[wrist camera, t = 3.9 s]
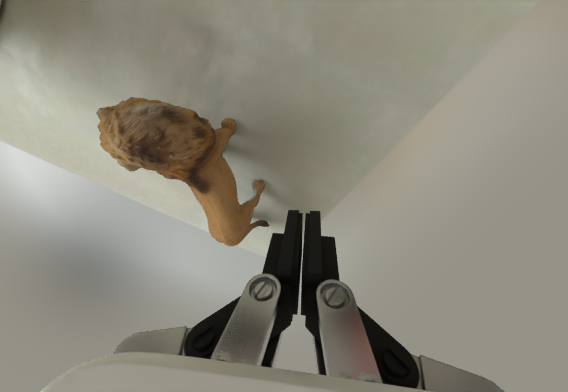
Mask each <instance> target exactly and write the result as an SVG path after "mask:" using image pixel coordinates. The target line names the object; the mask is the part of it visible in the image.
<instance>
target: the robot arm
mask: <svg viewBox="0 0 568 392" xmlns="http://www.w3.org/2000/svg"><path fill="white" fill-rule="evenodd" d="M0 6H1V0H0ZM302 219H303V213H299V210H289V211H288V216H287V221H286V226H285V232H284V234H279V233H273V234H272V238H271V241H270V245H269V249H268V253H267V257H266V261H265V265H264V269H263V272H262V274H259V275H257V276H254V277H253V278H252V279H251V280H250V281H249V282H248V283H247V285H246V287H245V289H244V291H243V293H242V295H241V296H240V297H238V298H237V299H235V300H234V301H232V302H231V303H229V304H228V305H226V306H225V307H223V308H221V309H220V310H218V311H217V312H215V313H214V314H212V315H211V316H209V317H207V318H206V319H204V320H203V321H201V322H200V323H198V324H197V325H196V326H194V327H193V328H187V327H186V326H184V327H176V328H169V329H161V330H153V331H146V332H139V333H136V334H132V335H131V336H129V337H128V338H126V339H125V340H124V341H123V342H122V343H121V344H120V345H119V346H118V348H117V349H116V350H115V352H114V353H113V354H111V355H107V356H103V357H100V358H96V359H94V360H90V361H87V362H85V363H83V364H81V365H78V366H76V367H74V368H72V369H70V370H68V371H66V372H65V373H63V374H61V375H60V376H58V377H57V378H56V379H54V380H53V381H52V382H51V383H50V384H48V385H47V386H46V387H45V388H44V389H43V390H42V391H41V392H504V391H503V390H502V389H501V388H500V387H498V386H497V385H496V384H495V383H493V382H492V381H490V380H488V379H486V378H484V377H481V376H478V375H476V374H473V373H470V372H467V371H464V370H462V369H458V368H456V367H453V366H450V365H448V364H445V363H442V362H439V361H436V360H433V359H431V358H427V357H425V356H422V355H420V356H419V357H417V356H414V355H411V354H410V353H409V352H408V351H407V350H406V349H405V348H404V347H403V346H402V345H401V344H400V343H399V342H397V341H396V340H395V339H394V338H393V337H392V336H390V335H389V334H388V333H387V332H386V331H385V330H384V329H383V328H382V327H380V326H379V325H378V324H377V323H376V322H375V321H374V320H373V319H371V318H370V317H369V316H368V315H367V314H366V313H365V312H363V311H362V310H361V309H360V308H359V307H358V306H357V304H356V301H355V298H354V295H353V293H352V291H351V289H350V288H349V287H348V286H347V285H346V284H344V283H343V282H341V281H339V272H338V265H337V264H338V263H337V255H336V246H335V238H334V237H326V236H321V222H320V211H310V214H308V213H306V218H305V233H304V248H303V263H302V293H301V315H305V316H306V321H305V326H306V328H307V329H308V330H309V331H310V332H311V333H312V335H313V344H314V352H315V360H316V367H317V374H311V373H305V372H298V371H291V370H283V369H277V368H274V366H275V362H276V358H277V354H278V351H279V347H280V343H281V340H282V336H283V331H284V330H285V329H286V328H287V327H288V326H290V325H291V322H292V318H293V314H297V311H298V297H299V284H300V270H301V257H302Z"/></svg>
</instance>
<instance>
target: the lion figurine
mask: <svg viewBox="0 0 568 392" xmlns="http://www.w3.org/2000/svg"><path fill="white" fill-rule="evenodd" d="M97 115H98V117H99V119H100V120H101V122H100V123H99V124H98V129H99V131H100V132H101V134H100V140H101V143H100V145H101V147H102V148H103V149H104V150H105V151H106V152H108V153H109V154H110V155H111V156H112V157H113V158H114V159H117V161H118V163H119V164H120V165H121V166H123V167H125V168H126V169H127V170H129V171H135V170H137V169H139V168H144V169H147V170H154V171H156V172H157V173H158V174H160V175H163V176H164V177H165V178H168V179H179V180H181V181H183V182H185V183H187V184H188V185H189V187H190V188H191V190H192V191H193V193H194V195H195V196H196V198H197V200H198V201H199V203H200V204H201V205H202V207H203V209H204V211H205V213H206V216H207V220H208V227H209V231H210V234H211V235H212V237H213V238H214V239H216V240H217V241H219V242H221V243H224V244H226V245H228V246H235V245H237V244H239V243H240V242H241V241H242V240H243V239H244V238H245V236H246V235H247V234H248V233H249V232H250V231H251V230H252V229H253V228H255V227H257V226H262V227H268V226H270V225H269V224H268V222H267V221H265V220H259V221H256V222H254V223H252V224H250V223H251V219H252V214H253V210H254V207H256V206H257V204H258V202H259V199H260V195H261V193H262V191H263V189H264V182H263V181H262V180H255V181H253V183H252V187H253V196H252V198H251V199H250V200H249V201H247V202H245V203H243V204H242V205H240V204H239V202H238V198H237V188H236V181H235V178H234V175H233V172H232V170H231V168H230V167H229V165H228V164H227V162H226V160H225V159H224V158H223V156H222V154H223V152H224V148H225V145H226V143H227V142H228V140H229V139H230V138H231V136H232V135H233V134H234V131H235V128H236V124H235V122H234V121H233V120H232V119H229V118H226V119H224V120H223V121H221V125H222V128H220V129H216V130H214V129H213V128H212V127H211V124H210V123H209V121H208V120H207V119H204V118H200V117H199V116H198V114H197V113H196V112H195V111H193V110H190V109H186V108H182V107H180V106H173V105H171V104H169V103H166V102H161V101H159V100H150V101H149V100H147V99H145V98H133V97H132V98H129V99H128V100H126V101H121V102H120V103H119V104H117V105H116V106H111V107H106V108H100V109H98V110H97Z"/></svg>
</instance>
